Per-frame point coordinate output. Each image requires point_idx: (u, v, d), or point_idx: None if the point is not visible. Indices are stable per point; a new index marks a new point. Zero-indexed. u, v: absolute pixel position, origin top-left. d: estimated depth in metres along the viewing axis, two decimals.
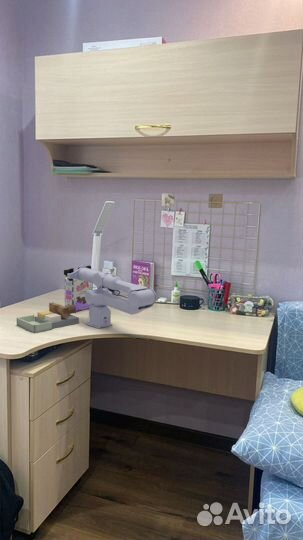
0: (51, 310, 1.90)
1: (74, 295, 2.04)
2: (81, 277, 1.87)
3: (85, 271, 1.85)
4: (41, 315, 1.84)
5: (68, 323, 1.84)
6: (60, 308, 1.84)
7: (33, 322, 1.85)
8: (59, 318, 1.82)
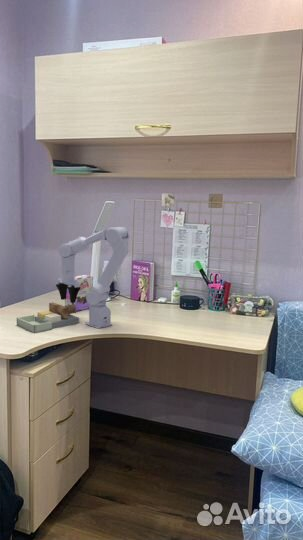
0: (51, 310, 1.90)
1: None
2: (73, 276, 1.87)
3: (66, 272, 1.85)
4: (41, 315, 1.84)
5: (68, 323, 1.84)
6: (60, 308, 1.84)
7: (33, 322, 1.85)
8: (59, 318, 1.82)
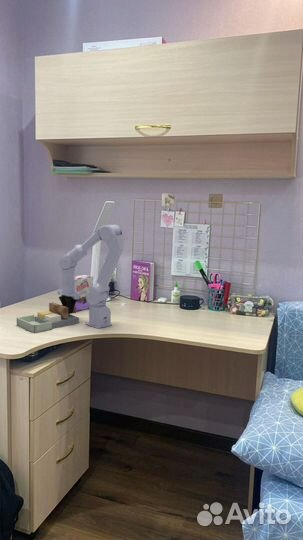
0: (51, 310, 1.90)
1: None
2: (73, 288, 1.88)
3: (66, 284, 1.86)
4: (41, 315, 1.84)
5: (68, 323, 1.84)
6: (60, 308, 1.84)
7: (33, 322, 1.85)
8: (59, 318, 1.82)
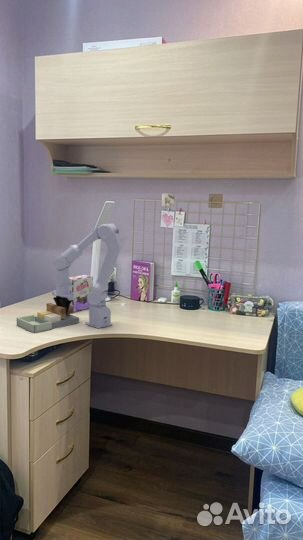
0: (48, 310, 1.89)
1: (74, 295, 2.04)
2: (67, 288, 1.86)
3: (60, 284, 1.84)
4: (41, 315, 1.84)
5: (68, 323, 1.84)
6: (57, 308, 1.83)
7: (33, 322, 1.85)
8: (59, 318, 1.82)
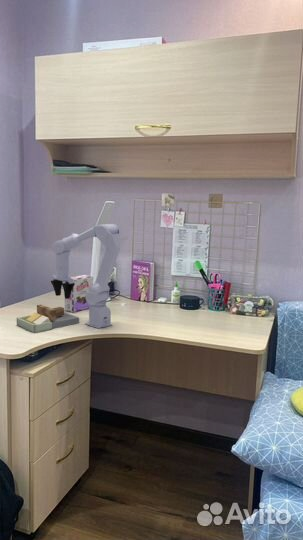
0: (39, 312, 1.86)
1: (74, 295, 2.04)
2: (67, 272, 1.90)
3: (60, 268, 1.89)
4: (30, 322, 1.81)
5: (68, 323, 1.84)
6: (47, 310, 1.80)
7: None
8: (48, 321, 1.78)
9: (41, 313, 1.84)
